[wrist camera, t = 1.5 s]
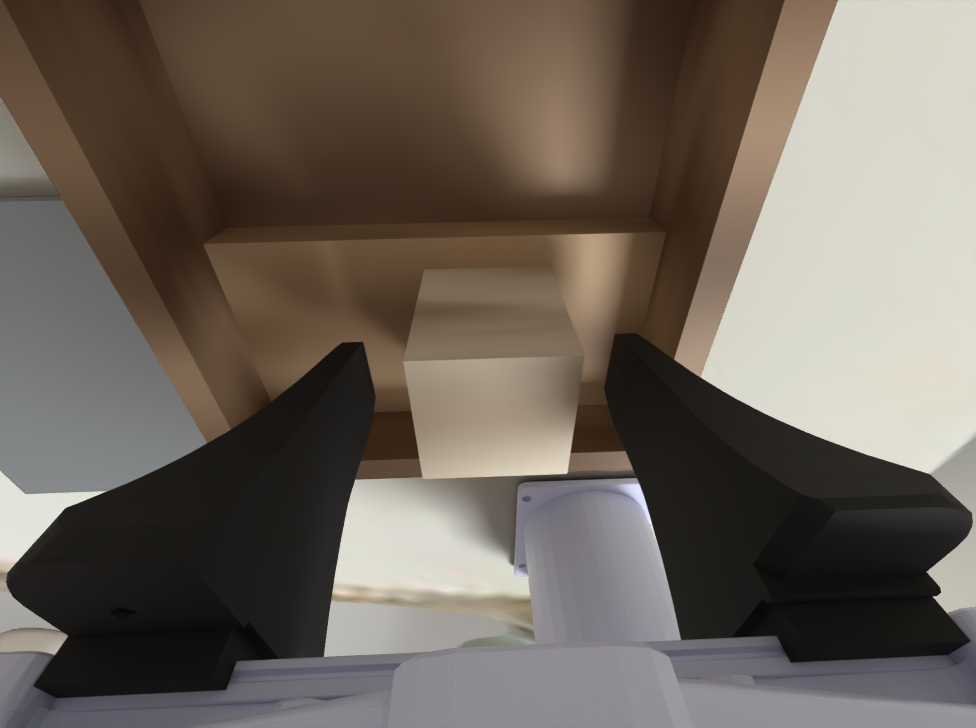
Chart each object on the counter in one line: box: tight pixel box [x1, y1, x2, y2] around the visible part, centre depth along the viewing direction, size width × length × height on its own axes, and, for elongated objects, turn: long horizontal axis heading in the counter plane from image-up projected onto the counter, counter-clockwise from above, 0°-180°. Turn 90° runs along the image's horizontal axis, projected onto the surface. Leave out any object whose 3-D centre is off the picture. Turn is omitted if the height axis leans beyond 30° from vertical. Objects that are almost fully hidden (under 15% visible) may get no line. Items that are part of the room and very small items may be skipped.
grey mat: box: [0, 196, 207, 494], centre depth 17 cm, size 14×12×1 cm
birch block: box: [403, 266, 585, 479], centre depth 12 cm, size 4×4×5 cm
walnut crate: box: [0, 0, 838, 479], centre depth 12 cm, size 16×16×4 cm
